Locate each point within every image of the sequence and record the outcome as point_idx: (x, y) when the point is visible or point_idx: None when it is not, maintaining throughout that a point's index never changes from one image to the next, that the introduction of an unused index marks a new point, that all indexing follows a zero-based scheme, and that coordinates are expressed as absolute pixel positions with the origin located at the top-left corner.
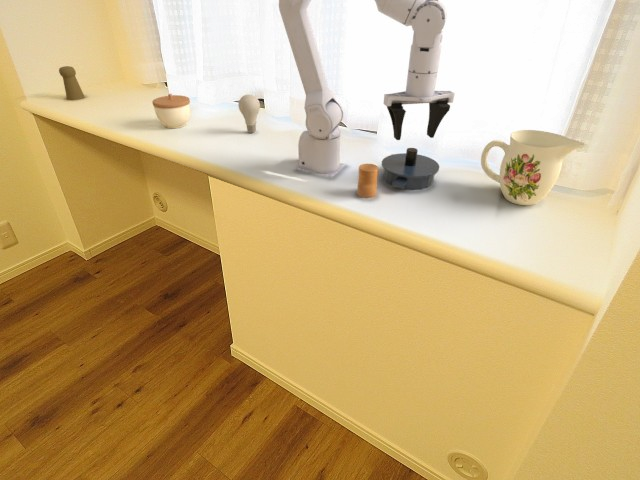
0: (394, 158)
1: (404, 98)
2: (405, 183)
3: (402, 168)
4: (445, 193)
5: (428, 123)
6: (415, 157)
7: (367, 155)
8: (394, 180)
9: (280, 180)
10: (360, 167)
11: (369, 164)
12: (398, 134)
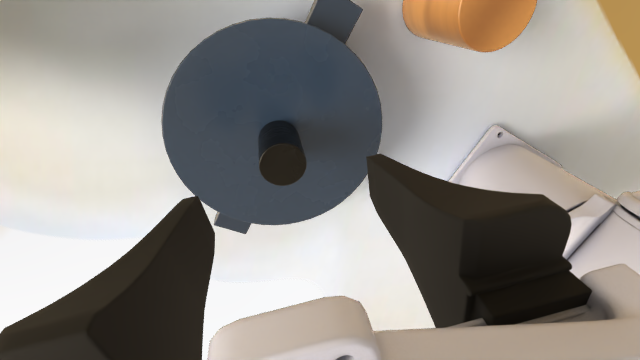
0: (327, 182)
1: (555, 347)
2: (311, 11)
3: (315, 98)
4: (145, 16)
5: (207, 281)
6: (266, 137)
7: (360, 263)
8: (353, 27)
9: (617, 110)
10: (531, 4)
11: (483, 39)
12: (392, 161)
